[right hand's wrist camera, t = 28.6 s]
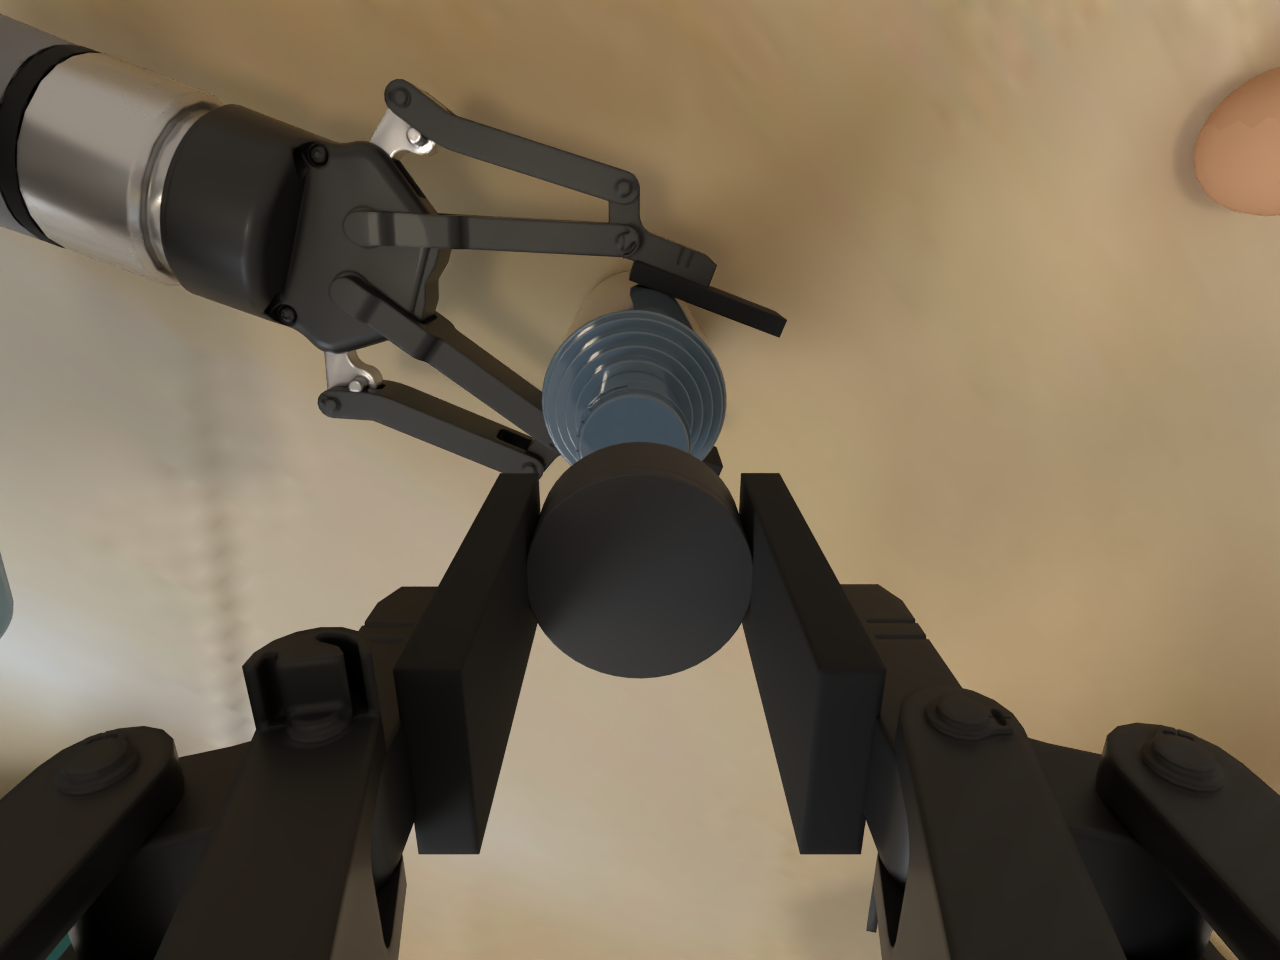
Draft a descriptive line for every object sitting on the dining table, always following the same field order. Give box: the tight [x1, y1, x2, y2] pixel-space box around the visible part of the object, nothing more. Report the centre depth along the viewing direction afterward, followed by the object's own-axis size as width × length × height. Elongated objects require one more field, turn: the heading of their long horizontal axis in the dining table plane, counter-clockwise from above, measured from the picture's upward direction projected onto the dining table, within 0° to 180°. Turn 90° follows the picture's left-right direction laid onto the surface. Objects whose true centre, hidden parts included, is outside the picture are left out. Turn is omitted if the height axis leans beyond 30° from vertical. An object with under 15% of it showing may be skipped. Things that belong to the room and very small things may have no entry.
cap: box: [526, 442, 753, 678], centre depth 14 cm, size 4×4×2 cm
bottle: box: [542, 271, 726, 466], centre depth 28 cm, size 6×6×20 cm
